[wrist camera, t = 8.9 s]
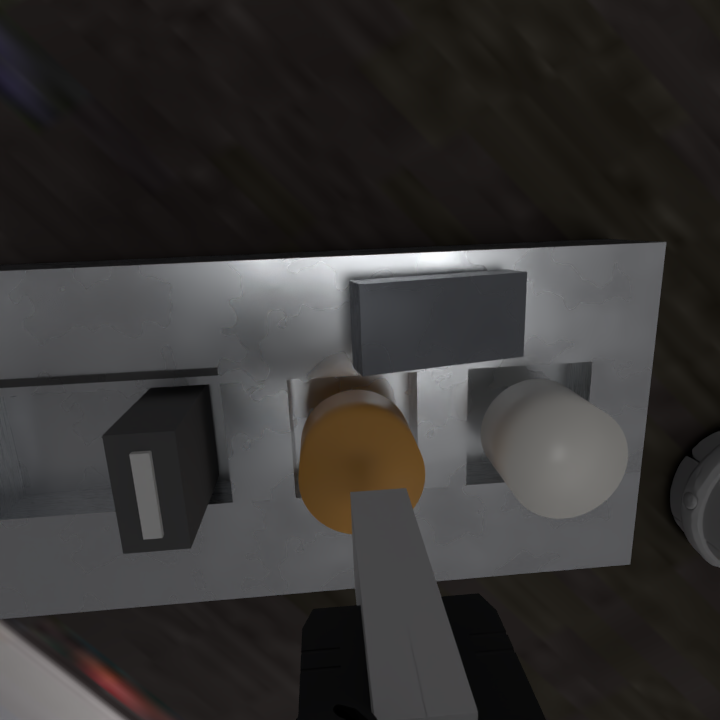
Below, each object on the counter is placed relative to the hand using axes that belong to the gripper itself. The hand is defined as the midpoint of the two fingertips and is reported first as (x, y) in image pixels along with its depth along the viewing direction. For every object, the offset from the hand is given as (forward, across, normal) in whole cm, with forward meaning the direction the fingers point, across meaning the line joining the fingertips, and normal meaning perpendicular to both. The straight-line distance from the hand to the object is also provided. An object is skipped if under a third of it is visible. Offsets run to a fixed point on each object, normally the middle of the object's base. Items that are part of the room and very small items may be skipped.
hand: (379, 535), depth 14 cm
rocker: (+5, +3, +5) cm, 8 cm away
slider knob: (+8, -7, 0) cm, 11 cm away
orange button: (+6, 0, 0) cm, 6 cm away
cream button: (+6, +7, 0) cm, 9 cm away
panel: (+11, -2, 0) cm, 11 cm away
